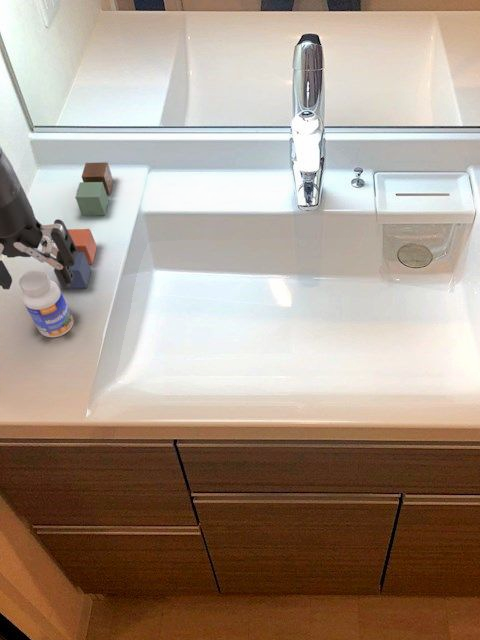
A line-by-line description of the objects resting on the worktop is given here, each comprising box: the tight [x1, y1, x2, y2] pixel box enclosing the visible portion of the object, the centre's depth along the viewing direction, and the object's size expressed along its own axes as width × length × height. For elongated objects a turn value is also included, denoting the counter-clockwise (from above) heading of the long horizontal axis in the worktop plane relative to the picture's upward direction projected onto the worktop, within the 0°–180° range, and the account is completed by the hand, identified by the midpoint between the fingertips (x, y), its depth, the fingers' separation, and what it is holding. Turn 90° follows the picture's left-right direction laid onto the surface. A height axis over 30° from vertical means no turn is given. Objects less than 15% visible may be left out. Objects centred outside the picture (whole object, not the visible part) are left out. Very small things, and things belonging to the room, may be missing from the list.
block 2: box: [75, 181, 109, 217], centre depth 110 cm, size 4×4×4 cm
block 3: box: [67, 228, 98, 265], centre depth 104 cm, size 4×4×4 cm
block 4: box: [53, 252, 92, 290], centre depth 101 cm, size 4×4×4 cm
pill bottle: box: [18, 269, 74, 338], centre depth 93 cm, size 5×5×10 cm
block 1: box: [81, 161, 114, 196], centre depth 114 cm, size 4×4×4 cm
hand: (37, 284), depth 90 cm, fingers open, 8 cm apart
